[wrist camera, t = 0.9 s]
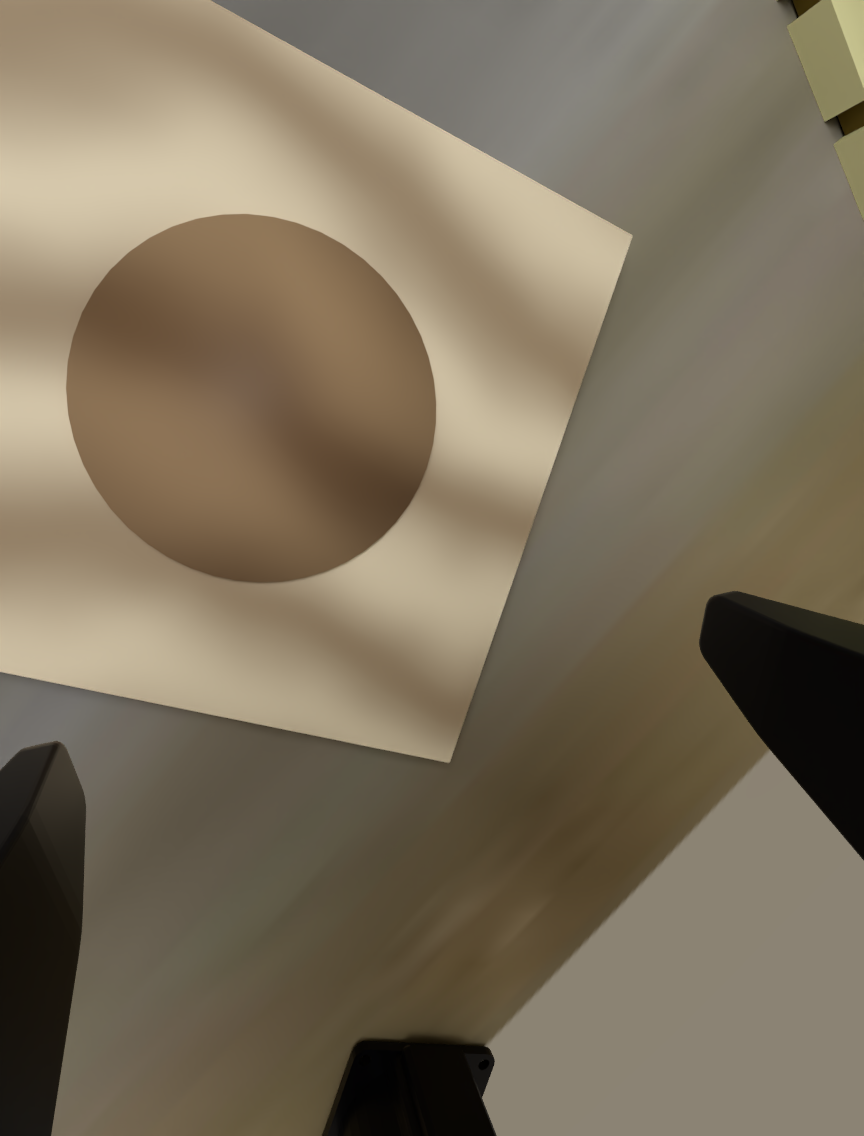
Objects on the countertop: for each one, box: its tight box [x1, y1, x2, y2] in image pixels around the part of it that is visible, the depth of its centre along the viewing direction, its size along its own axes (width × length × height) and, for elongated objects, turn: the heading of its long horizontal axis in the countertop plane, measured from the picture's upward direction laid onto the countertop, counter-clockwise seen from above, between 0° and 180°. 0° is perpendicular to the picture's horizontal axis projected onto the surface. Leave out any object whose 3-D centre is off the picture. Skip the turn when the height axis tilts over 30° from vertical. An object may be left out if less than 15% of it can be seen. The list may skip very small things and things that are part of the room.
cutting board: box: [0, 0, 633, 763], centre depth 21 cm, size 20×20×2 cm
